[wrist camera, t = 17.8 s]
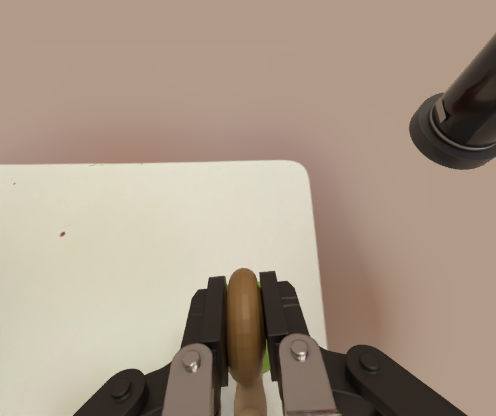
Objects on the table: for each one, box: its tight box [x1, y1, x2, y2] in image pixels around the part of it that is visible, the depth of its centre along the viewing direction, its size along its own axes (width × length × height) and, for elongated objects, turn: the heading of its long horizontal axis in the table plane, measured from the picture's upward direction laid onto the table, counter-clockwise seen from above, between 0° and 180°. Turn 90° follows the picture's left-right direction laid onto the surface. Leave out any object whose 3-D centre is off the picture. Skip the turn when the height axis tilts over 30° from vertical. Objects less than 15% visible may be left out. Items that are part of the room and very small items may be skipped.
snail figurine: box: [226, 268, 270, 416], centre depth 13 cm, size 5×6×12 cm
